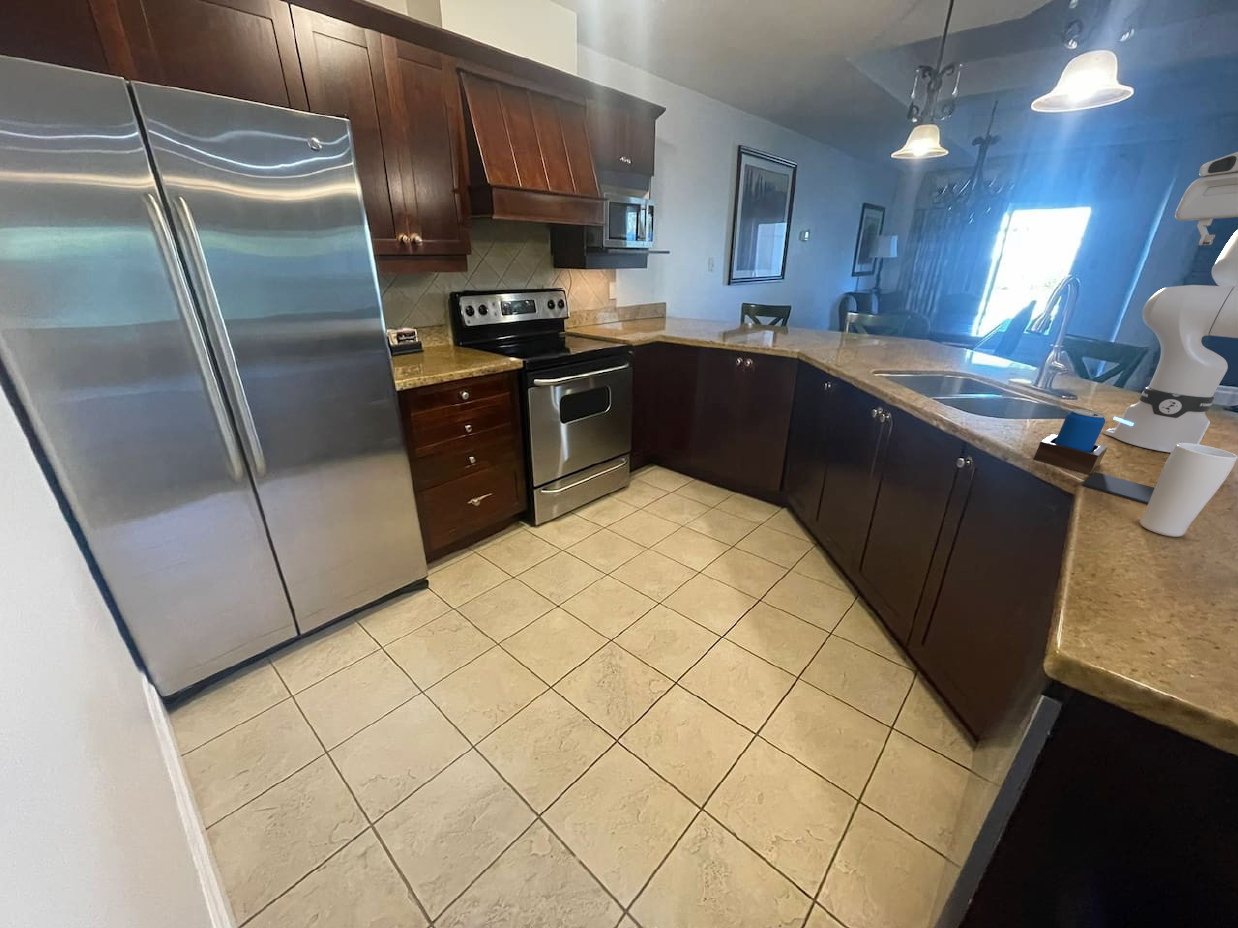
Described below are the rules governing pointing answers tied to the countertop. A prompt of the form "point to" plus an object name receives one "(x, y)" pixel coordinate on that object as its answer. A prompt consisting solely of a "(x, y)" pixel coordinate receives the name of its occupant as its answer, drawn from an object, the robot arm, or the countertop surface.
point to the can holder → (1069, 455)
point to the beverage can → (1081, 429)
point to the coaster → (1119, 487)
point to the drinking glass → (1186, 487)
